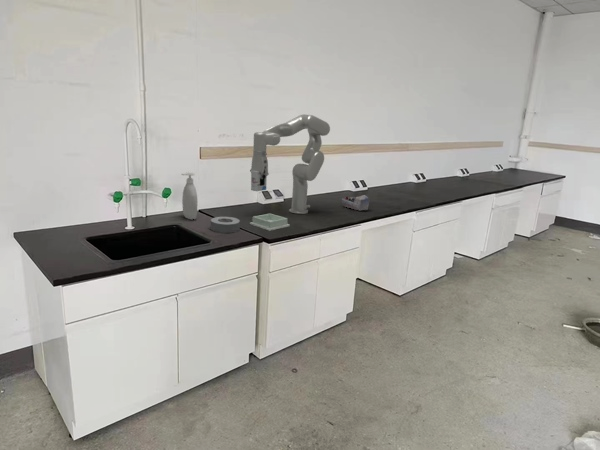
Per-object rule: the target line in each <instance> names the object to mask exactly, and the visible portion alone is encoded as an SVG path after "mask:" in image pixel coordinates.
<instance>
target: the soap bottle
mask: <svg viewBox="0 0 600 450" xmlns="http://www.w3.org/2000/svg"><path fill="white" fill-rule="evenodd" d="M181 176H188V177H187V178H186V183H185V186H184V188H183V192H182V198H181V199H182V201H181V203H182V212H183V217H184V218H186V219H187V220H191V221H193V219H194V220H196V219H197V215H198V195H197V194H198V193H197V189H196V187H195V184H194V178H192V176H195V173H194V172H193V171H191V170H190V171H186V172H184V173H181Z"/></svg>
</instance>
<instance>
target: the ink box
mask: <svg viewBox="0 0 600 450" xmlns="http://www.w3.org/2000/svg"><path fill="white" fill-rule="evenodd" d="M260 179H261V176H260V173H259V171H251V172H250V180H251V181H250V185H251V186H250V190H251V191H253V192H263V191H266V190H267V177H266V178H265V185H263V186H260Z"/></svg>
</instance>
